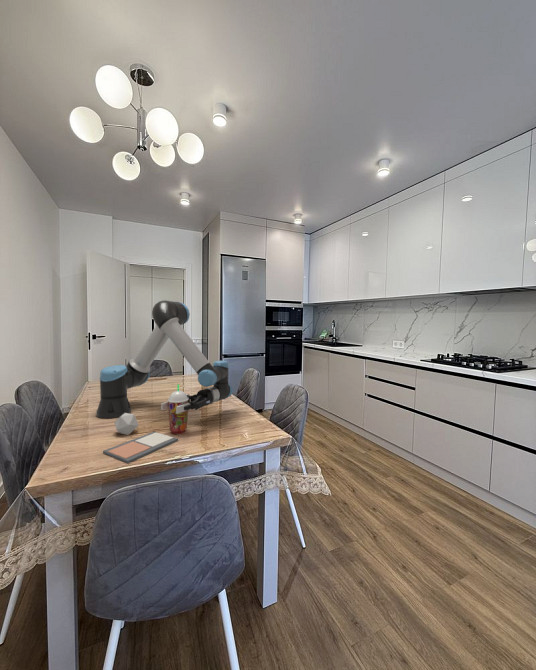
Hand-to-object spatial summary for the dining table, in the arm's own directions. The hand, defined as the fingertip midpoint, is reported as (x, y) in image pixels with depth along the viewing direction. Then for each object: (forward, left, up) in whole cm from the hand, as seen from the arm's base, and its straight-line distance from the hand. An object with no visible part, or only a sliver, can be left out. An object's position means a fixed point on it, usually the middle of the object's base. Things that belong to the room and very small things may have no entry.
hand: (169, 408), depth 115 cm
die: (-17, -7, -11) cm, 22 cm away
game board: (0, -12, -11) cm, 16 cm away
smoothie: (0, +5, -11) cm, 12 cm away
